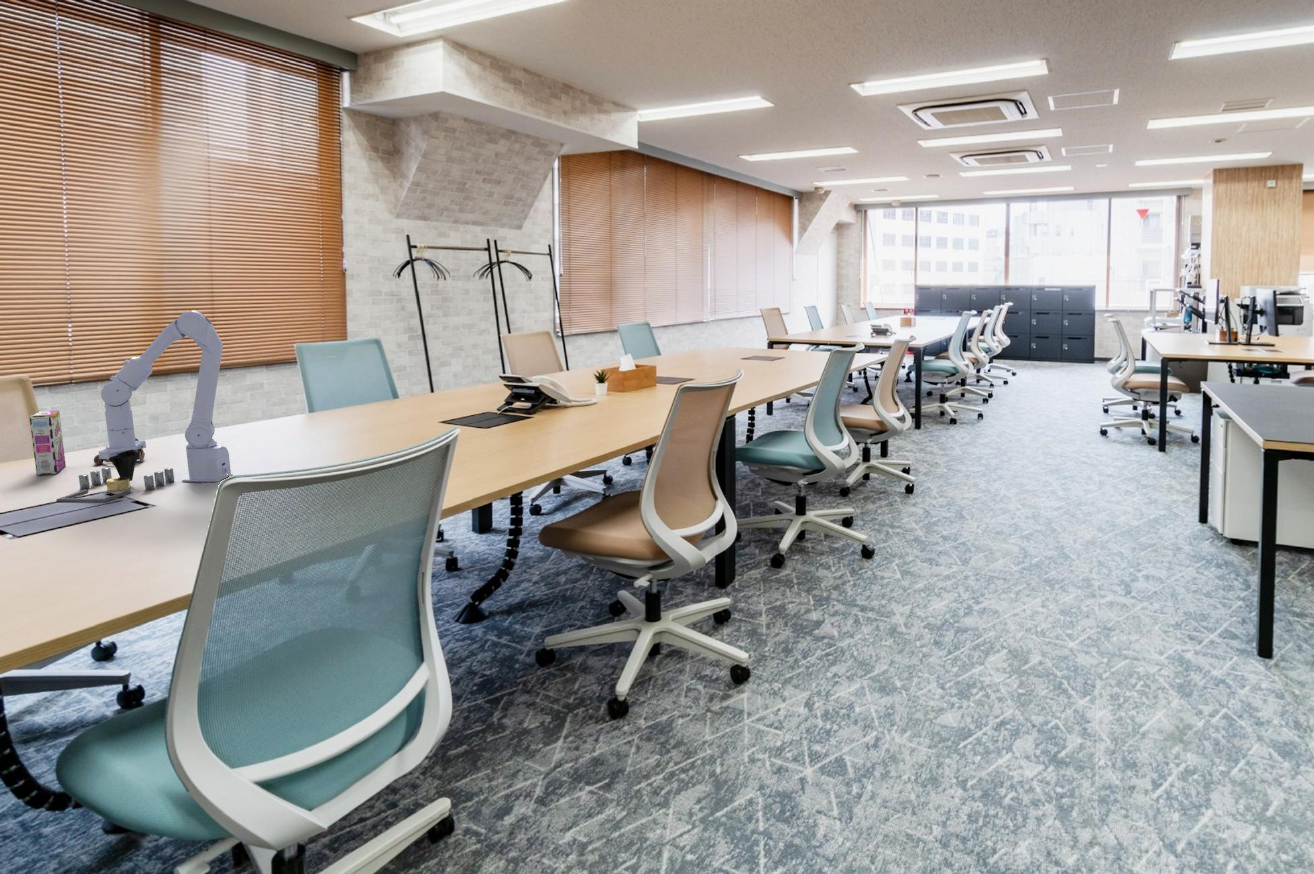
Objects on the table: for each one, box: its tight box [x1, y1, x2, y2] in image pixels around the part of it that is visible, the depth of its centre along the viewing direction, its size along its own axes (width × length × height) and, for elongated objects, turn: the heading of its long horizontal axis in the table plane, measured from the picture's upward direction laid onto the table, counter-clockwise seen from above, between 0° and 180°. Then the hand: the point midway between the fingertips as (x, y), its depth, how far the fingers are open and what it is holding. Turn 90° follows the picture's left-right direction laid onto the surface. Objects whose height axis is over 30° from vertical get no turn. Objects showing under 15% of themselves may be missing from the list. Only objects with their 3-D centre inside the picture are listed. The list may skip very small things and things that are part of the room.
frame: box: [56, 489, 132, 503], centre depth 200 cm, size 12×9×1 cm
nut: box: [105, 476, 131, 492], centre depth 209 cm, size 5×5×2 cm
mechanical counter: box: [93, 437, 146, 466], centre depth 240 cm, size 7×13×10 cm
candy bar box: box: [28, 410, 67, 476], centre depth 228 cm, size 11×5×16 cm, turn 25°
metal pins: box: [78, 467, 175, 491], centre depth 212 cm, size 19×10×4 cm, turn 87°
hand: (127, 480), depth 212 cm, fingers closed
